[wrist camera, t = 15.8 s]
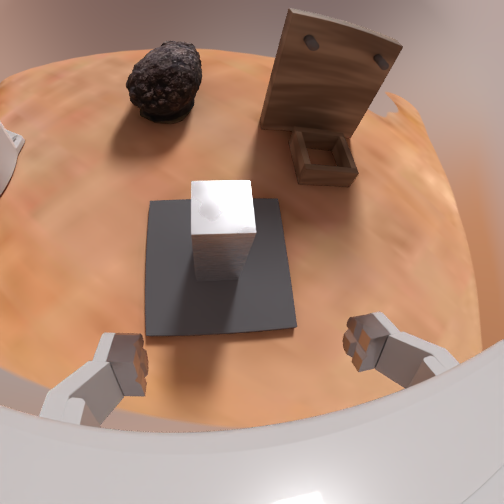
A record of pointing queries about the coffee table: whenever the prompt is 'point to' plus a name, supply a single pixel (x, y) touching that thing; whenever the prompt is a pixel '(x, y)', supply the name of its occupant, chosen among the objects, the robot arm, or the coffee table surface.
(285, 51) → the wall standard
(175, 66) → the dark porous rock
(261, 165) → the coffee table surface
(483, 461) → the robot arm
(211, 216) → the light gray square block
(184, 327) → the rubber mat
